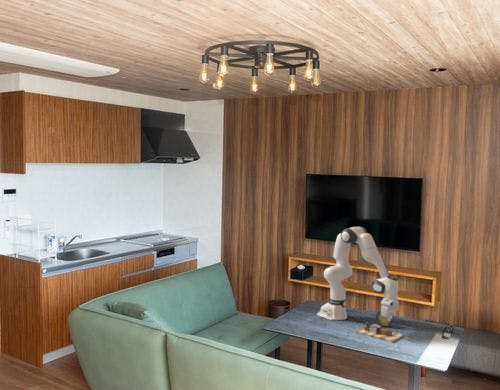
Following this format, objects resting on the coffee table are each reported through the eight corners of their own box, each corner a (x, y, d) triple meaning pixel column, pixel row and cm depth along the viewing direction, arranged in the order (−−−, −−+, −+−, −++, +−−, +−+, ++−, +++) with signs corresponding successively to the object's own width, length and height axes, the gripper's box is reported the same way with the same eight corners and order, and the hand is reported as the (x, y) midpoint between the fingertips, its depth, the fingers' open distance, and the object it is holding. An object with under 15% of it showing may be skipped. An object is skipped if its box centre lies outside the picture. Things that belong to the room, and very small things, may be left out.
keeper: (369, 332, 319) (369, 326, 319) (373, 330, 324) (373, 323, 324) (376, 334, 316) (376, 327, 315) (380, 331, 321) (380, 325, 320)
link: (362, 329, 324) (363, 322, 324) (365, 327, 327) (366, 320, 327) (389, 336, 311) (389, 328, 311) (392, 334, 315) (392, 327, 314)
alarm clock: (375, 326, 335) (376, 303, 334) (377, 323, 340) (378, 301, 339) (391, 328, 330) (392, 305, 329) (393, 326, 335) (393, 303, 334)
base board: (356, 333, 321) (356, 331, 321) (367, 327, 333) (367, 325, 333) (393, 342, 304) (393, 340, 304) (403, 336, 316) (403, 334, 315)
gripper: (393, 296, 330) (392, 315, 332) (379, 302, 315) (378, 322, 316) (401, 298, 326) (400, 317, 327) (388, 304, 311) (387, 325, 312)
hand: (389, 320), depth 322 cm, fingers closed
